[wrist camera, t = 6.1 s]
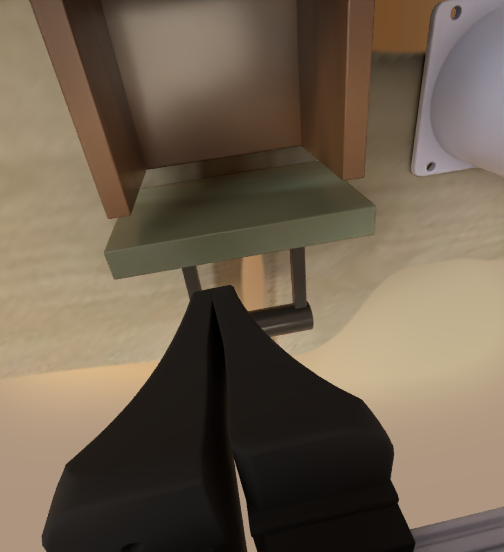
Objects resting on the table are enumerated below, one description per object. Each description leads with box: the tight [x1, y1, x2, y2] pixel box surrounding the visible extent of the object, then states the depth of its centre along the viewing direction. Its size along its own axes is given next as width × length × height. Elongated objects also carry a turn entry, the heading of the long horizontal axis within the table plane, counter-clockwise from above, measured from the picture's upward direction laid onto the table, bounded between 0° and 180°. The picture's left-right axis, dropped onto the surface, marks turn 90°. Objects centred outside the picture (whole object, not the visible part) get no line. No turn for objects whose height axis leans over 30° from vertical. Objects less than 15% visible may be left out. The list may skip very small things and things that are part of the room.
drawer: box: [29, 0, 376, 337], centre depth 15 cm, size 18×10×7 cm, turn 6°
